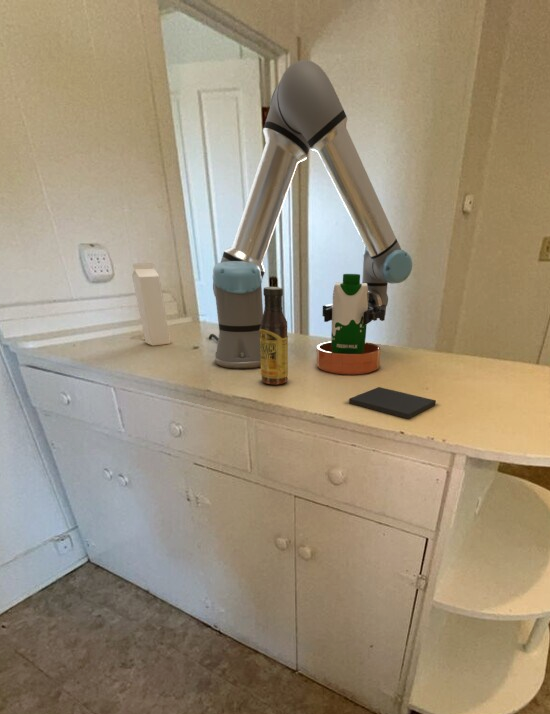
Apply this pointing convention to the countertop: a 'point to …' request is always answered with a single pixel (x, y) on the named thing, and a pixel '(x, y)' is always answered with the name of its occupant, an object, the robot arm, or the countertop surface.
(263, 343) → the sauce bottle
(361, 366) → the bowl
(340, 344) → the drink carton
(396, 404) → the mat
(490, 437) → the countertop surface
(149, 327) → the milk
